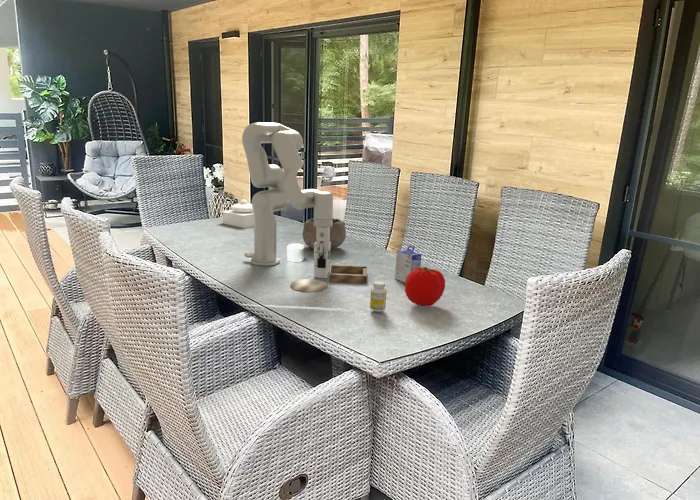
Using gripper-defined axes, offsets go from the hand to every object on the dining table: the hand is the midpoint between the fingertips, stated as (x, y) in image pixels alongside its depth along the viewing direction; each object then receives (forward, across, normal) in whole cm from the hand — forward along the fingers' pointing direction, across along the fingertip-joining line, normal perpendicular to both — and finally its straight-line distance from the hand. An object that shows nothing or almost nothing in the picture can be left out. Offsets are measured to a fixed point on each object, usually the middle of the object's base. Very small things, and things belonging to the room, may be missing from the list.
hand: (321, 265), depth 218 cm
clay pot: (+5, +44, +2) cm, 44 cm away
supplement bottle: (+5, -36, -22) cm, 42 cm away
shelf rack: (+5, 0, -11) cm, 12 cm away
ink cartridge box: (+5, -2, -35) cm, 35 cm away
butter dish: (+5, +91, +51) cm, 105 cm away
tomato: (+5, -28, -39) cm, 48 cm away
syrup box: (+5, 0, 0) cm, 5 cm away
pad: (+5, -14, +4) cm, 15 cm away
